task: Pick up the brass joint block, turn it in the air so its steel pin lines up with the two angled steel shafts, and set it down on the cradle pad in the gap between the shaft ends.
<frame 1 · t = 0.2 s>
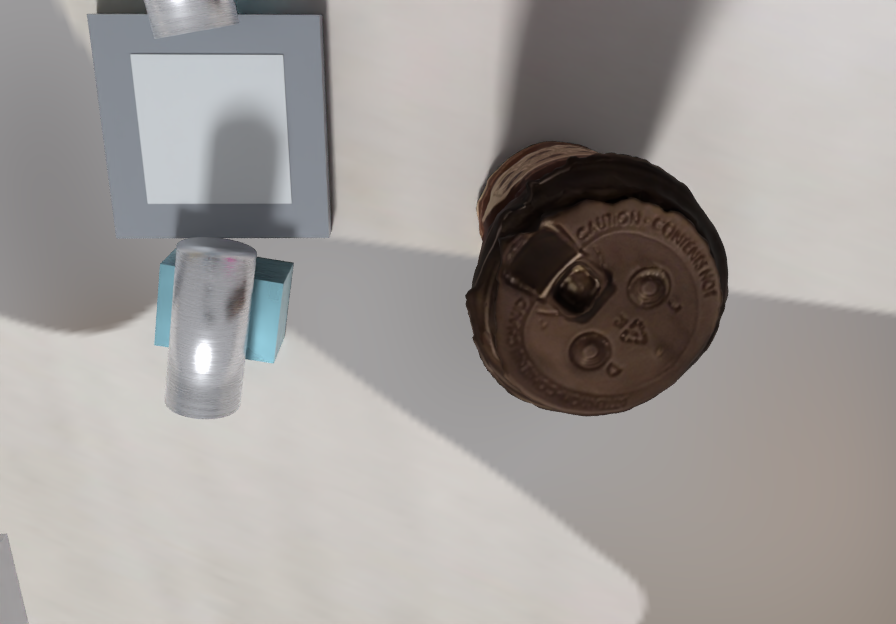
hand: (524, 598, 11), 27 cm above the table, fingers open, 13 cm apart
cradle: (219, 127, 36), on the table
shaft b: (233, 291, 39), on the table
coffee cup: (547, 207, 38), on the table
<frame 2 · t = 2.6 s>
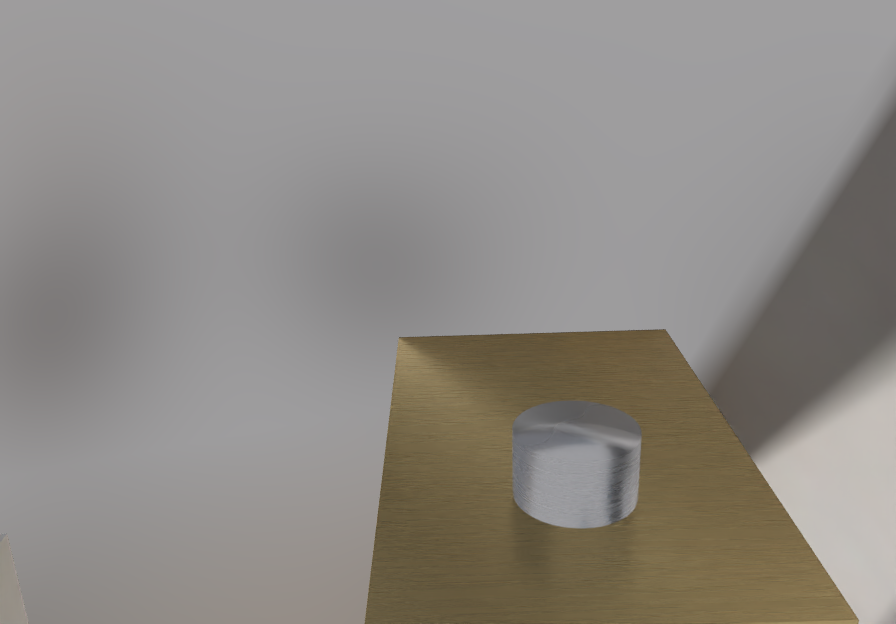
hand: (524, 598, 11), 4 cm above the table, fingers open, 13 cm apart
joint block: (531, 440, 15), on the table
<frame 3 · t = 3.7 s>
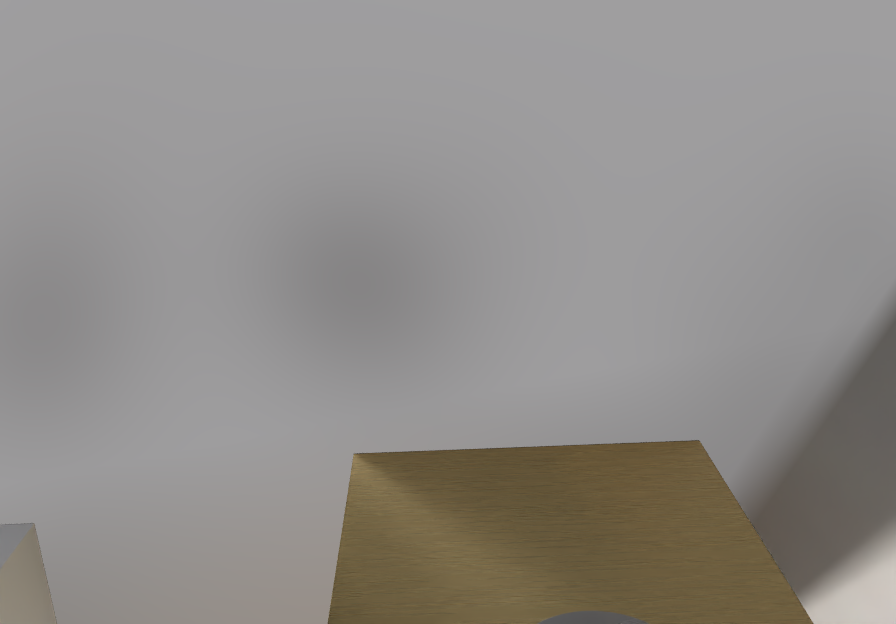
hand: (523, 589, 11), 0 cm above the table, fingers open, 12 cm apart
joint block: (526, 577, 12), on the table
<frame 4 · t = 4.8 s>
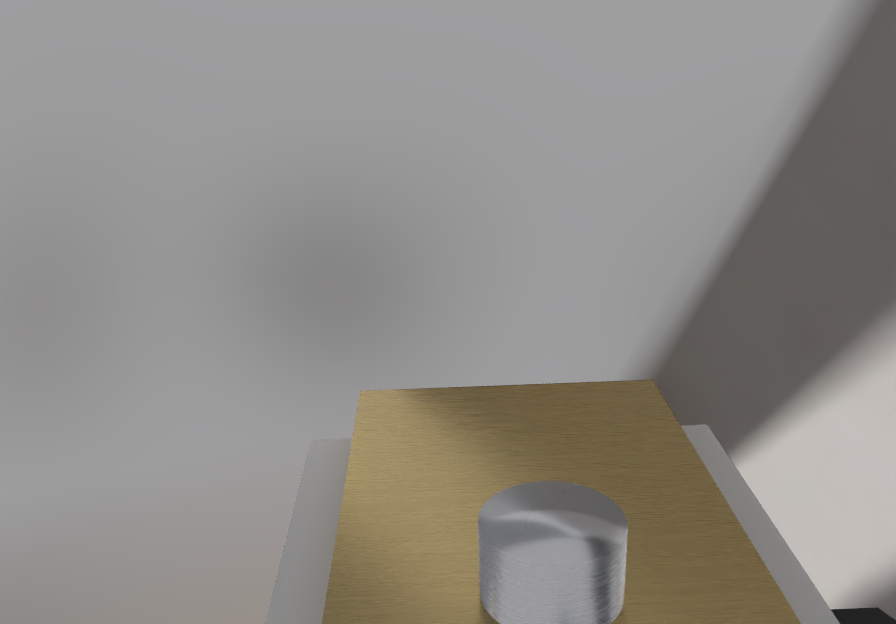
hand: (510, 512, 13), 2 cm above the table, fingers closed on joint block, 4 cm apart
joint block: (507, 500, 14), point 1 cm above the table, touching gripper
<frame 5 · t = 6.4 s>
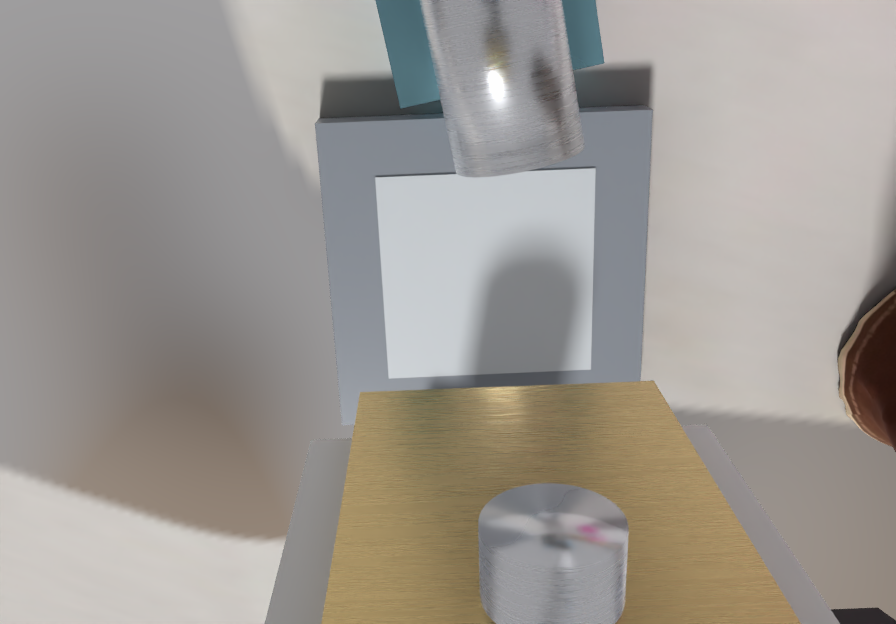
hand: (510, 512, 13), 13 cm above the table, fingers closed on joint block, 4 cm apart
joint block: (508, 502, 14), point 13 cm above the table, touching gripper
cradle: (485, 266, 25), on the table
shaft a: (479, 6, 23), on the table
when the fingers open (2 cm above the table, at t = 8.0 s): joint block stays where it is, resting on cradle.
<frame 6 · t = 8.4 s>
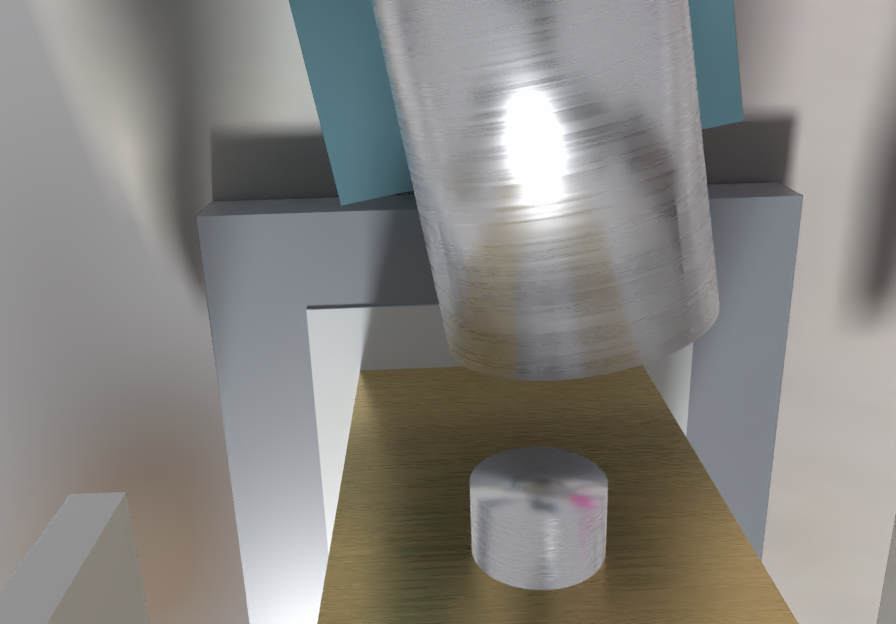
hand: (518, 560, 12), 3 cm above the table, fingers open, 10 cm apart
joint block: (501, 475, 14), point 1 cm above the table, touching cradle
cradle: (498, 442, 15), on the table
shaft a: (493, 8, 13), on the table
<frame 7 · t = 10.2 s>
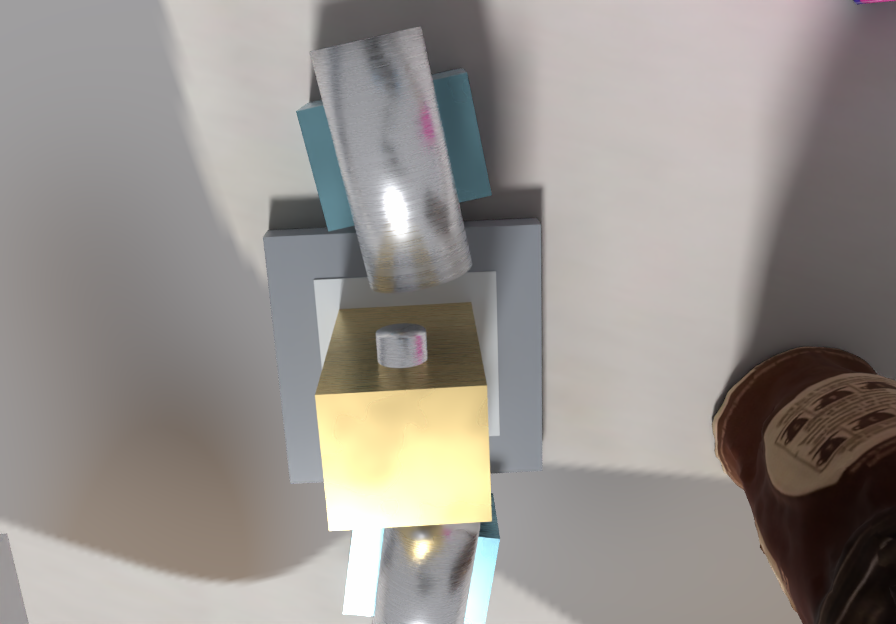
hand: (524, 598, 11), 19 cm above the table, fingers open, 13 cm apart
joint block: (408, 361, 29), point 1 cm above the table, touching cradle
cradle: (410, 349, 30), on the table
shaft a: (398, 141, 28), on the table
shaft b: (420, 528, 33), on the table
coffee cup: (793, 417, 32), on the table
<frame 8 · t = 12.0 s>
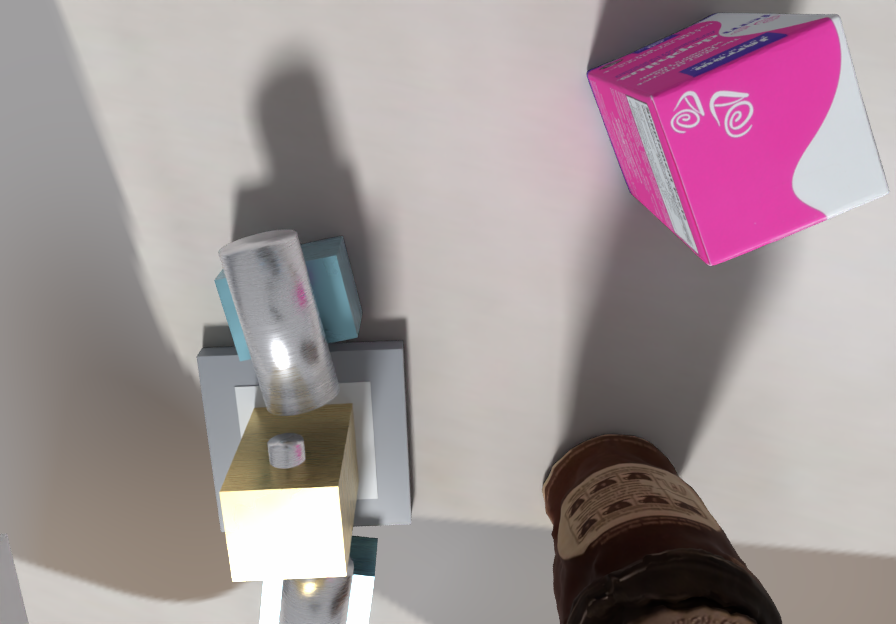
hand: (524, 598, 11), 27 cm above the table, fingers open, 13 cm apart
supplement box: (668, 104, 36), on the table
joint block: (307, 445, 39), point 1 cm above the table, touching cradle
cradle: (311, 433, 40), on the table
shaft a: (297, 286, 38), on the table
shaft b: (323, 563, 43), on the table
coffee cup: (606, 484, 42), on the table
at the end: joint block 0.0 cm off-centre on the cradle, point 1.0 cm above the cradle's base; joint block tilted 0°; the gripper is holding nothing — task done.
